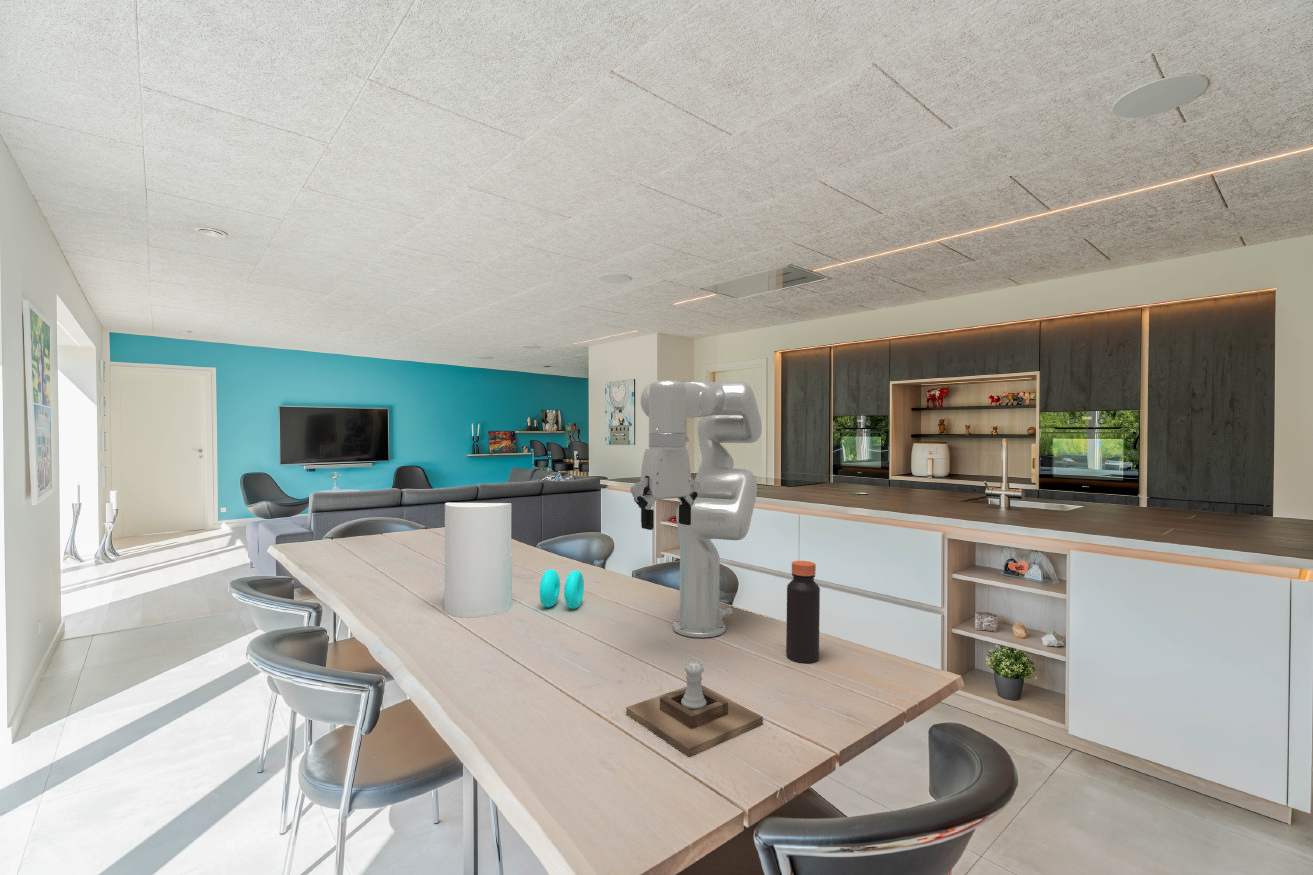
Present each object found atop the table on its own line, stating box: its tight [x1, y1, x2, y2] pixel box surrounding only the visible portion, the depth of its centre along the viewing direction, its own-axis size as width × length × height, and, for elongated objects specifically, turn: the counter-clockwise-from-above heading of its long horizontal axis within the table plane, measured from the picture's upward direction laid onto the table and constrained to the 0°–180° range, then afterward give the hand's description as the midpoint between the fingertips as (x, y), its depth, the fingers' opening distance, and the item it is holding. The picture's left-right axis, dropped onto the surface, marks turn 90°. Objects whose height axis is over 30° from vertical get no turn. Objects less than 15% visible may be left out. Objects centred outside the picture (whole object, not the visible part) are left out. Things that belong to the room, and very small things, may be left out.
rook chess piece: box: [681, 660, 707, 711], centre depth 97 cm, size 4×4×8 cm
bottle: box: [785, 560, 821, 664], centre depth 123 cm, size 7×7×20 cm
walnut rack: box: [625, 684, 764, 758], centre depth 97 cm, size 16×16×3 cm
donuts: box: [539, 568, 585, 610], centre depth 157 cm, size 10×10×10 cm
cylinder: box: [444, 502, 513, 619], centre depth 156 cm, size 17×17×28 cm
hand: (666, 526), depth 118 cm, fingers open, 9 cm apart
